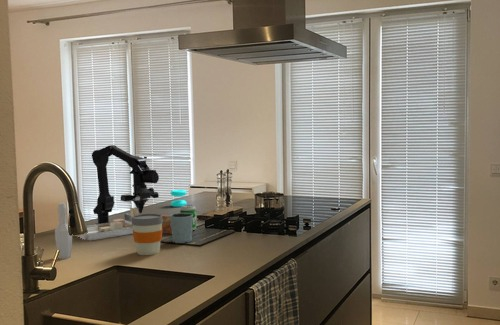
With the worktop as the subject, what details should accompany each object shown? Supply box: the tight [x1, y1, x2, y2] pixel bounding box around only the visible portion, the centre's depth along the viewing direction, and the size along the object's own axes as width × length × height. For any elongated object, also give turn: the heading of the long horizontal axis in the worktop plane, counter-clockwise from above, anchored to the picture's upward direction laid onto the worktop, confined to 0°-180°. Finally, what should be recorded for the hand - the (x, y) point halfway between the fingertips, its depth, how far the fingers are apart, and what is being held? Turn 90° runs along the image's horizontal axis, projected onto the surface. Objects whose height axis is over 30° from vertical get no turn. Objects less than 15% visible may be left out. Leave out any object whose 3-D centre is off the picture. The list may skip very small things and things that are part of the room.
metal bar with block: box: [124, 206, 140, 222], centre depth 269 cm, size 20×3×7 cm, turn 38°
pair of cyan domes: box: [170, 189, 188, 208], centre depth 340 cm, size 10×10×10 cm
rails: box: [86, 219, 133, 242], centre depth 262 cm, size 21×31×3 cm
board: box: [99, 223, 133, 231], centre depth 265 cm, size 13×15×2 cm
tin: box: [162, 215, 172, 235], centre depth 259 cm, size 15×3×8 cm, turn 62°
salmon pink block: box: [112, 218, 125, 226], centre depth 268 cm, size 4×4×3 cm
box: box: [77, 226, 101, 241], centre depth 256 cm, size 15×12×4 cm
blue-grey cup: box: [169, 212, 193, 244], centre depth 239 cm, size 10×10×12 cm
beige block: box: [110, 221, 123, 230], centre depth 260 cm, size 4×4×3 cm
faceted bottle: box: [54, 202, 73, 260], centre depth 214 cm, size 6×6×22 cm
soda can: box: [179, 204, 197, 232], centre depth 263 cm, size 8×8×12 cm
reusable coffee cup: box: [132, 213, 163, 256], centre depth 219 cm, size 13×13×15 cm
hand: (140, 213), depth 271 cm, fingers closed
